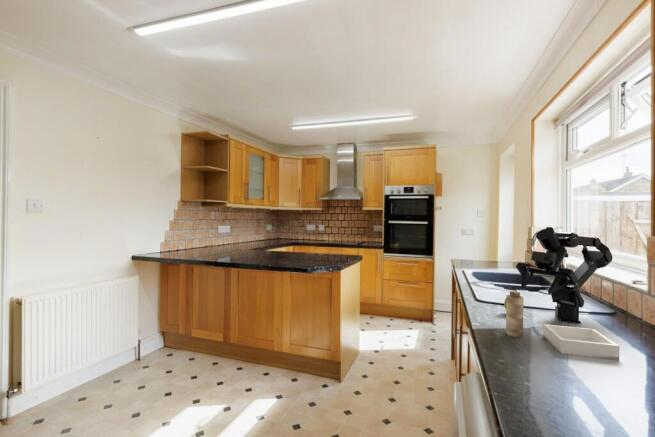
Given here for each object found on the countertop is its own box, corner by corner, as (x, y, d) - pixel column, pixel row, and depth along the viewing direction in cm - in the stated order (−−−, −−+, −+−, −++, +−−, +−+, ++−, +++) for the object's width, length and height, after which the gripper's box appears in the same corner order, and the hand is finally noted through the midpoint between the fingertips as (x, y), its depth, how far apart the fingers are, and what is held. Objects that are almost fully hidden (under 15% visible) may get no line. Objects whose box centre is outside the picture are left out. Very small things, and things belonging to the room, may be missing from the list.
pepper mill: (520, 332, 108) (521, 291, 108) (525, 338, 104) (525, 294, 103) (504, 331, 110) (504, 290, 110) (508, 336, 105) (508, 293, 105)
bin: (593, 341, 101) (593, 328, 101) (619, 360, 88) (619, 346, 88) (543, 335, 105) (543, 324, 105) (560, 353, 92) (560, 339, 92)
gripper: (519, 241, 123) (500, 271, 118) (573, 245, 107) (554, 280, 102) (530, 260, 127) (513, 290, 122) (585, 267, 110) (567, 302, 105)
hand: (535, 290), depth 113 cm, fingers open, 9 cm apart
